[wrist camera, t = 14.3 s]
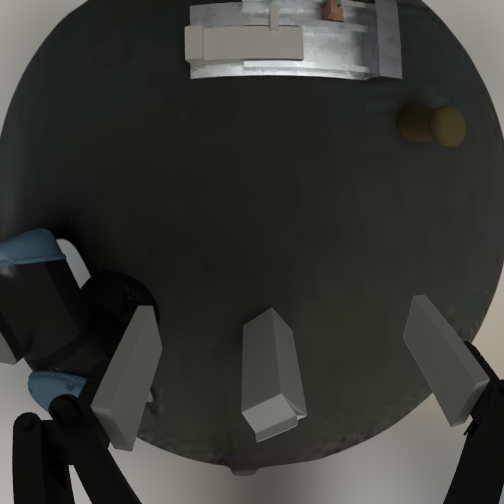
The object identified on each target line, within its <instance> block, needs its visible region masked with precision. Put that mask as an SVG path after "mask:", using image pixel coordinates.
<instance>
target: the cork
mask: <svg viewBox="0 0 504 504" xmlns="http://www.w3.org/2000/svg"><path fill="white" fill-rule="evenodd" d="M397 127H398V130H399V132H400V134H401V135H402V136H403V137H404V138H405V139H406V140H408V141H411V142H430V141H436V142H437V143H439V144H440V145H442V146H445V147H454V146H457V145H459V144H460V143H461V142H462V141H463V139H464V137H465V135H466V123H465V120H464V118H463V117H462V115H461V113H460V112H459V111H457V110H456V109H454V108H452V107H450V106H441V107H438V108H436V109H435V108H432V107H428V106H424V105H420V104H417V103H408V104H406V105H404V106H403V107H402V108H401V109H400V110H399V112H398V114H397Z"/></svg>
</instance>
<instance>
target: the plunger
mask: <svg viewBox="0 0 504 504" xmlns="http://www.w3.org/2000/svg"><path fill="white" fill-rule="evenodd" d="M269 15H270V26H238V27H219V28H206V29H204V28H203V26H202V25H196V26H187V27H185V60H186V61H187V62H189V63H190V64H191V65H192V66H194V65H206V64H220V63H241V62H244V61H302V60H303V59H304V46H303V27H291V26H279V11H278V4H270V5H269Z"/></svg>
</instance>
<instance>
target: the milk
mask: <svg viewBox="0 0 504 504" xmlns="http://www.w3.org/2000/svg"><path fill="white" fill-rule="evenodd" d="M242 414H243V416H244V417H245V418H246V420H247V421H248V423H249V424H250V426H251V427H252V429H253V430H254V431H255V433H256V441H257V442H260V441H262V440H265V439H267V438H270V437H272V436H275V435H277V434H279V433H282V432H284V431H286V430H289V429H291V428H293V427H295V426H297V424H298V421H297V420H299V419H301V418H303V417H305V416H307V412H306V406H305V400H304V394H303V389H302V383H301V377H300V372H299V366H298V360H297V355H296V349H295V344H294V338H293V333H292V329H291V328H290V327H289V326H288V325H287V324H286V322H285V321H284V320H283V319H282V318H281V317H280V316H279V315H278V314H277V312H276V311H275V310H274V309H273V308H272V307H271V308H270V309H268V310H267V311H265V312H263V313H262V314H260V315H259V316H257V317H255V318H254V319H252V320H251V321H249V322H247V323H246V324H244V325H243V356H242Z"/></svg>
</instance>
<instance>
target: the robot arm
mask: <svg viewBox="0 0 504 504" xmlns="http://www.w3.org/2000/svg"><path fill="white" fill-rule="evenodd" d="M159 319H160V317H159V310H158V307H157V304H156V302H155V300H154V298H153V297H152V295H151V294H150V292H149V291H148V290H147V289H146V288H145V287H144V286H143V285H142V284H140V283H139V282H138V281H136V280H135V279H133V278H131V277H129V276H127V275H124V274H121V273H117V272H102V273H98V274H96V275H94V276H92V277H91V278H89V279H88V280H87V281H86V283H85V284H84V285H83V286H82V288H81V289H80V288H79V286H78V284H77V282H76V280H75V278H74V276H73V274H72V271H71V269H70V267H69V265H68V263H67V261H66V256H65V254H63V253H62V251H61V249H60V247H59V245H58V243H57V241H56V239H55V237H54V235H53V234H52V232H51V231H49V230H48V229H45V228H37V229H34V230H31V231H28V232H25V233H23V234H20V235H17V236H15V237H12V238H10V239H7V240H5V241H3V242H0V362H2V363H8V364H12V365H14V364H16V363H17V362H18V361H19V360H21V359H22V358H24V359H25V361H26V362H27V364H28V365H29V367H30V368H31V369H32V371H33V373H31V374H30V376H29V381H28V389H29V392H30V394H31V396H32V397H33V399H34V400H35V401H36V402H37V403H38V404H39V405H40V406H41V407H42V408H44V409H45V410H46V411H47V412H49V414H50V415H51V417H52V418H53V420H41V419H40V418H39V417H38V415H37V414H35V413H32V412H26V413H23V414H21V415H20V416H18V417H17V419H16V420H15V422H14V426H13V450H12V454H13V456H12V471H13V493H14V504H75V502H74V497H73V491H72V485H71V479H70V474H69V466H68V465H74V468H75V470H76V472H77V474H78V476H79V479H80V481H81V482H82V485H83V487H84V489H85V491H86V493H87V495H88V497H89V499H90V501H91V502H92V504H142V503H141V502H140V500H139V499H138V497H137V496H136V494H135V493H134V491H133V490H132V488H131V487H130V485H129V484H128V482H127V480H126V479H125V477H124V476H123V474H122V472H121V471H120V469H119V468H118V466H117V464H116V463H115V461H114V459H113V457H112V456H111V454H110V452H109V450H108V446H109V443H110V442H111V443H112V445H113V447H114V448H115V449H120V450H126V451H132V450H133V445H134V442H135V439H136V435H137V432H138V428H139V425H140V421H141V418H142V414H143V411H144V407H145V404H146V401H147V397H148V394H149V391H150V387H151V384H152V381H153V378H154V374H155V371H156V368H157V365H158V362H159V358H160V355H161V352H162V345H161V340H160V336H159V332H158V326H159ZM402 339H403V340H404V342H405V344H406V345H407V347H408V349H409V350H410V352H411V354H412V356H413V357H414V359H415V361H416V363H417V364H418V366H419V368H420V370H421V372H422V373H423V375H424V377H425V379H426V381H427V382H428V384H429V386H430V388H431V390H432V392H433V393H434V395H435V397H436V399H437V401H438V403H439V405H440V407H441V408H442V410H443V412H444V414H445V416H446V418H447V420H448V422H449V424H450V426H451V427H453V426H457V425H460V424H463V423H465V421H466V420H467V418H468V417H469V415H471V416H472V418H473V420H472V422H471V424H470V425H469V427H468V428H467V430H466V431H465V433H464V435H466V434H467V432H468V434H467V438H466V441H465V445H464V448H463V451H462V454H461V457H460V460H459V463H458V466H457V469H456V472H455V474H454V477H453V480H452V483H451V485H450V488H449V490H448V493H447V495H446V498H445V500H444V503H443V504H499V500H500V496H501V493H502V488H503V484H504V380H503V379H502V380H499V378H498V377H497V375H496V374H495V372H494V371H493V370H492V368H491V367H490V366H489V364H488V363H487V362H486V361H485V360H484V358H483V356H482V355H480V352H479V351H478V350H477V348H476V347H475V346H473V345H472V344H471V343H469V342H468V341H465V342H463V341H462V340H461V339H460V338H459V336H458V335H457V334H456V332H455V331H454V330H453V329H452V327H451V326H450V325H449V324H448V322H447V321H446V320H445V318H444V317H443V316H442V315H441V314H440V312H439V311H438V310H437V309H436V307H435V306H434V305H433V304H432V303H431V301H430V300H429V299H428V298H427V297H426V295H418V296H413V298H412V302H411V307H410V311H409V315H408V319H407V322H406V326H405V330H404V333H403V337H402Z"/></svg>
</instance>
